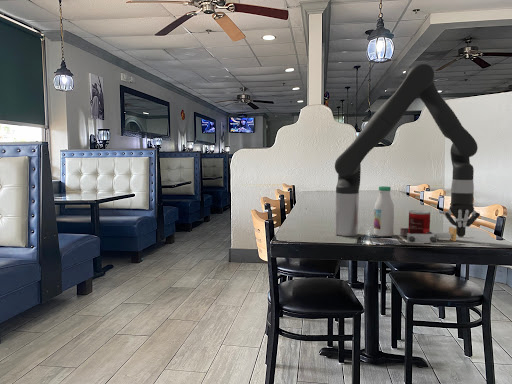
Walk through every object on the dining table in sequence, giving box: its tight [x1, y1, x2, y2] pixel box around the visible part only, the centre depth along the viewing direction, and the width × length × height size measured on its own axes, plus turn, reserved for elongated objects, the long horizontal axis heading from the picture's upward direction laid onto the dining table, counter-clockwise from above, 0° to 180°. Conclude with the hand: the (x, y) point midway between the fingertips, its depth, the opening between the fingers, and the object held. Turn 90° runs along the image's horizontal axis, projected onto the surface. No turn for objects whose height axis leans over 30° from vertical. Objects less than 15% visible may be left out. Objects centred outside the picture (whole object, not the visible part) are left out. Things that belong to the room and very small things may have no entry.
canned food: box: [407, 209, 431, 234], centre depth 151 cm, size 8×8×11 cm
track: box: [397, 234, 490, 246], centre depth 150 cm, size 29×15×1 cm, turn 82°
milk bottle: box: [373, 185, 395, 237], centre depth 160 cm, size 8×8×20 cm
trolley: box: [399, 226, 457, 243], centre depth 151 cm, size 18×15×4 cm
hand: (460, 236), depth 149 cm, fingers closed
